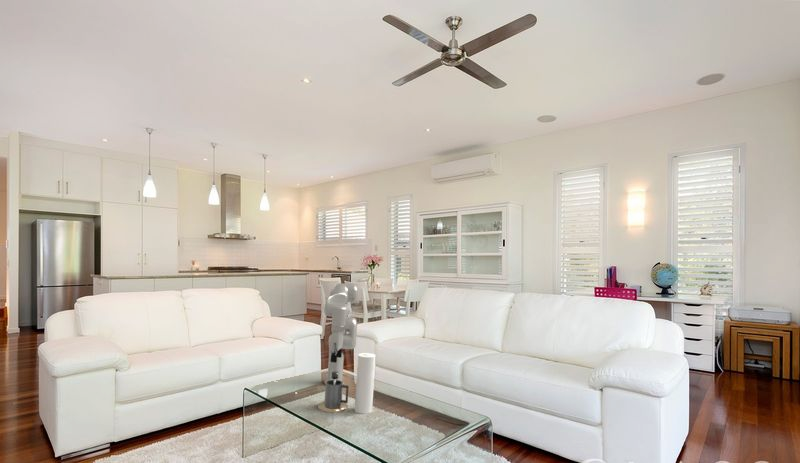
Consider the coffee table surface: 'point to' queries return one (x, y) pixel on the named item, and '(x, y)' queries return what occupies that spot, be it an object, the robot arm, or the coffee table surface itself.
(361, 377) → the cylinder container
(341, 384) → the press carafe
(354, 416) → the coffee table surface
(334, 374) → the plunger
